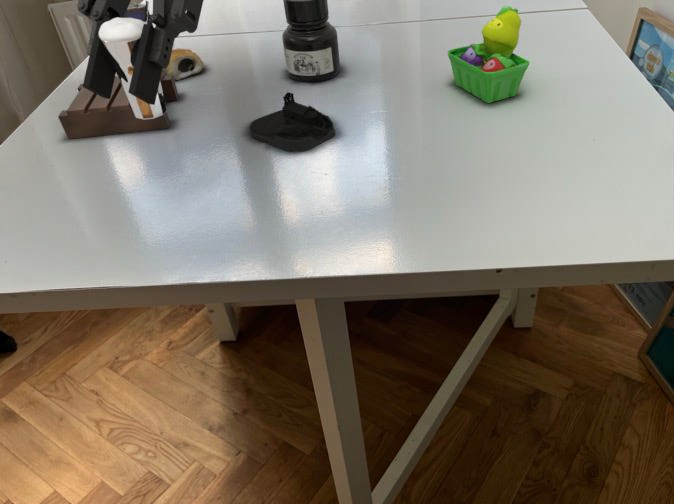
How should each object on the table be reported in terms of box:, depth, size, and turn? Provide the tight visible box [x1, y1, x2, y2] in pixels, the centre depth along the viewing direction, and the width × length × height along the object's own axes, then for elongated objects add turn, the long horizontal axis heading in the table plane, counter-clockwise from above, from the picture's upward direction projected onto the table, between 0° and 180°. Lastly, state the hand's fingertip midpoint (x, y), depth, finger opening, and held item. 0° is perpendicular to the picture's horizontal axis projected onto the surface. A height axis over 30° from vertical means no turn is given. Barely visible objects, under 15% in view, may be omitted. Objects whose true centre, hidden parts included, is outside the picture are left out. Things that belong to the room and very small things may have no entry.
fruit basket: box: [446, 5, 531, 104], centre depth 81 cm, size 11×9×11 cm
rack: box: [57, 71, 180, 140], centre depth 82 cm, size 14×12×4 cm
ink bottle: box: [281, 0, 341, 82], centre depth 89 cm, size 10×9×12 cm
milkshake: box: [99, 0, 168, 119], centre depth 54 cm, size 4×5×10 cm
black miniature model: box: [248, 91, 336, 153], centre depth 76 cm, size 12×10×5 cm
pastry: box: [162, 47, 204, 81], centre depth 96 cm, size 9×7×4 cm
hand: (118, 95), depth 53 cm, fingers closed on milkshake, 5 cm apart
